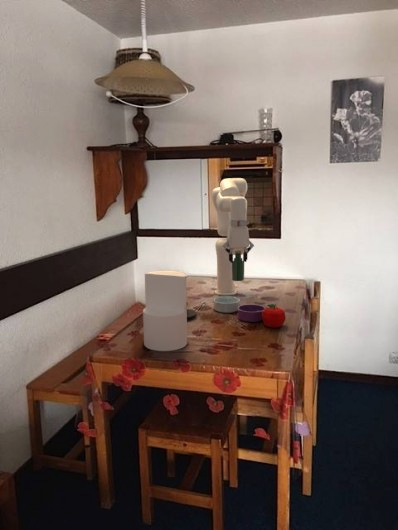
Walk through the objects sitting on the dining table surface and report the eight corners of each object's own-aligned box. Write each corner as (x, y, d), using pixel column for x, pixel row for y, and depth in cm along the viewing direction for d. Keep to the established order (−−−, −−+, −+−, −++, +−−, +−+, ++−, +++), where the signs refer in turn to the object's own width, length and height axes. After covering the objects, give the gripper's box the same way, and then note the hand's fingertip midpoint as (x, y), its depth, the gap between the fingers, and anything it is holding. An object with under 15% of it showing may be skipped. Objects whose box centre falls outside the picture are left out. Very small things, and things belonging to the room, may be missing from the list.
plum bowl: (248, 312, 223) (248, 302, 222) (270, 317, 215) (271, 307, 214) (231, 318, 214) (232, 308, 213) (254, 324, 205) (254, 313, 204)
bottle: (236, 277, 223) (237, 249, 221) (246, 279, 219) (247, 250, 217) (229, 279, 219) (229, 251, 216) (239, 281, 215) (239, 252, 212)
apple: (280, 321, 210) (280, 300, 208) (289, 328, 200) (290, 306, 198) (258, 322, 208) (258, 301, 206) (266, 330, 197) (266, 307, 195)
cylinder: (156, 333, 194) (154, 269, 189) (193, 338, 188) (193, 272, 183) (136, 347, 179) (133, 277, 173) (175, 353, 172) (174, 281, 167)
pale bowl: (224, 304, 238) (224, 295, 237) (244, 309, 230) (245, 299, 229) (208, 309, 229) (208, 300, 228) (228, 314, 220) (228, 304, 219)
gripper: (253, 222, 219) (252, 259, 223) (218, 223, 216) (218, 261, 219) (258, 224, 212) (257, 262, 216) (222, 225, 209) (222, 264, 212)
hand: (238, 261), depth 217 cm, fingers closed on bottle, 6 cm apart
